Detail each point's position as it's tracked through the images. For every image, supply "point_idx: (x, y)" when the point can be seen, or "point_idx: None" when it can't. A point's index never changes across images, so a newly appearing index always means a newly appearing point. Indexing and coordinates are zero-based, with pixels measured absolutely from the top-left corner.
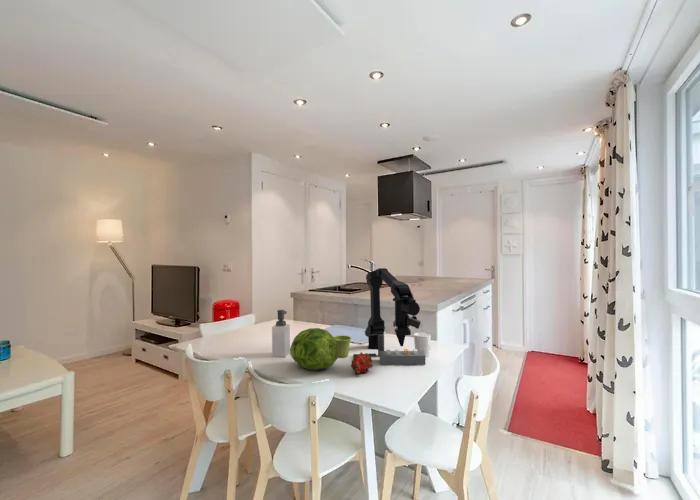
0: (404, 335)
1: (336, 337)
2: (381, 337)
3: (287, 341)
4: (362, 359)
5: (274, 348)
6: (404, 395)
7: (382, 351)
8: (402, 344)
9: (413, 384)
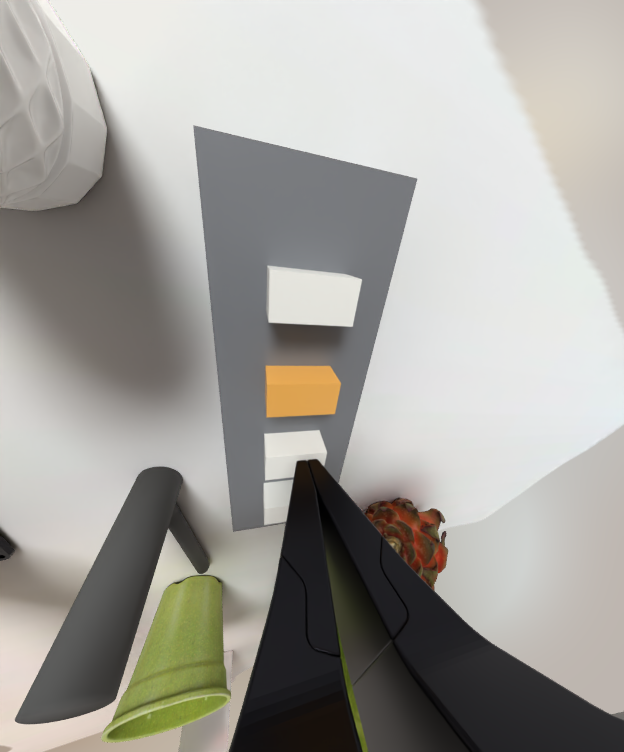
0: (464, 648)
1: (140, 725)
2: (123, 665)
3: (204, 725)
4: (445, 565)
5: None
6: (600, 394)
7: (244, 518)
8: (329, 480)
9: (565, 356)
